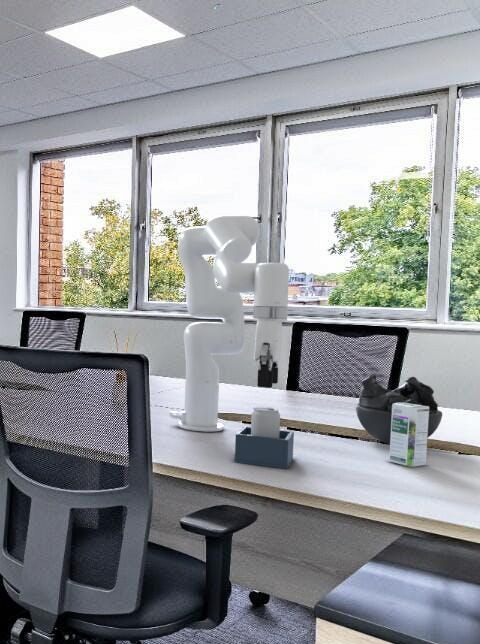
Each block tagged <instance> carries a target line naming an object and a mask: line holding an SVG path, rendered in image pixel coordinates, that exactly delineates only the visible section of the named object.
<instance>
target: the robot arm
mask: <svg viewBox="0 0 480 644" xmlns="http://www.w3.org/2000/svg"><path fill="white" fill-rule="evenodd" d="M260 234H261V228H260V225H259V223H258V221H257V220H256V219H255V218H254V217H252V216H249V215H228V214H225V215H224V214H223V215H222V214H221V215H216V216H213V217H211V218H210V219H208V220H207V222H206V223H205V226H190V227H188V228H185V229H183V230H182V231H181V233H180V234H179V236H178V242H177V252H178V257H179V260H180V264H181V266H182V270H183V274H184V285H185V300H186V309H187V312H188V315H189V316H190V317H192V318H196V319H211V320H212V319H217V320H222V322H215V321H214V322H213V321H212V322H210V321H198V322H193V323H191V324H189V325H187V326H186V328H185V329H184V331H183V344H184V353H185V383H184V384H185V385H184V388H185V389H184V410H182V411H180V412H178V411H172V410H171V411H170V413H169V418H171V419H176V420H180V421H179V422H178V427H179V428H181V429H184V430H187V431H192V432H193V431H194V432H202V433H203V432H205V433H206V432H208V433H209V432H210V433H212V432H213V433H214V432H221V431H223V430H224V425H223V424H222V423H219V395H220V369H219V368H220V367H219V365H218V364H217V362H216V361H215V359H214V358H213V357H212V356H215V355H219V356H220V355H222V356H223V355H225V356H226V355H231V356H232V355H233V356H234V355H238V354H240V353H242V352H243V351H244V349H245V347H246V346H245V345H246V325H245V315H244V314H245V313H244V302H243V298H242V295H241V294H253V311H252V313H253V314H252V315H253V317H252V320H253V321H256V326H255V335H254V348H253V361H255V362H258V367H257V368H258V370H257V383H256V384H257V385H256V386H257V387H258V388H264V389H265V388H266V389H271V388H273V385H275V384H276V385H277V384H278V382H279V367H278V365H279V362H278V360H280V359H281V350H282V334H283V333H282V332H283V331H282V329H283V322H288V307H289V305H288V304H289V281H290V280H289V279H290V269H289V266H288V265H287V264H286V263H283V262H260V263H257V262H244V261H246V260H247V259H248V258H249V257H250V255H251V253H252V249H253V246H254V245H256V244H257V242H258V241H259V239H260ZM203 256H214V258H213V261H212V266H211V264H210V263H209V262H208V261H207V259H205V258H204V257H203ZM216 281H217V283H218V285H219V286H217V284H216Z"/></svg>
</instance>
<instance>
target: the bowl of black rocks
mask: <svg viewBox="0 0 480 644" xmlns="http://www.w3.org/2000/svg"><path fill="white" fill-rule="evenodd" d="M404 381H405V383H403V384H402V385H401V386H399V387H397V388H395V389H394V390H390V389H388V388H387V389H386V388H384V387H383V386H382V385H381V384H380V383H379V382H378V381H377V375H376V374H375V373H370V374H369V375H368V376H367V377H366V378H364V379H363V380H362V381H361V383H360V384H361V385H362V387H361V389H360V394H359V397H358V402H357V403H356V405H355V412H356V416H357V418H358V422H359V423H360V425H361V426H362V428H363V429H364V430H365V432H367V433H368V434H369V435H370V436H372V437H373V438H374V439H376V440H378V441H379V442H381V443H384V444H387V445H390V439H391V418H392V404H394V403H410V404H415V405H421V406H429V418H428V435H427V439H428V438H430V437H431V436H432V435H433V434H434V433H435V432H436V430H437V429H438V428H439V426H440V425H441V422H442V419H443V412H442V411H441V410H438V409H439V408H438V407H439V404H438V403H437V401H436V400H435V398H434V393H435V390H434V389H433V388H432V387H431V386H430V385H427V384H425V383H423V382H422V381H419V380H418V378H417V377H416V376H410V377H408V378H407V379H406V380H404Z"/></svg>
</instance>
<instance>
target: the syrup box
mask: <svg viewBox="0 0 480 644" xmlns="http://www.w3.org/2000/svg"><path fill="white" fill-rule="evenodd" d="M428 418H429V406H421V405H415V404H410V403H394V404H392V418H391V439H390V444H389V455H388V462H389V463H394V464H397V465H402V466H404V467H405V466H406V467H409V468H414V467H422V466H426V465H427V451H428V450H427V449H428V438H427V435H428Z"/></svg>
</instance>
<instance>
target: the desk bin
mask: <svg viewBox="0 0 480 644" xmlns="http://www.w3.org/2000/svg"><path fill="white" fill-rule="evenodd" d="M294 435H295V432H294V431H291V430H282V429H280V434H279V438H270V437H262V436H253V435H251V426H245V425H244V426H242V427H241V428H240V429H239V430H238V431H237V432H236V433H235V441H234V443H235V444H234V463H241V464H246V465H255V466H261V467H268V468H277V469H283V470H284V469H285V470H288V468H289V467H290V465H291V463H292V461H293V459H294V439H295V436H294Z"/></svg>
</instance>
